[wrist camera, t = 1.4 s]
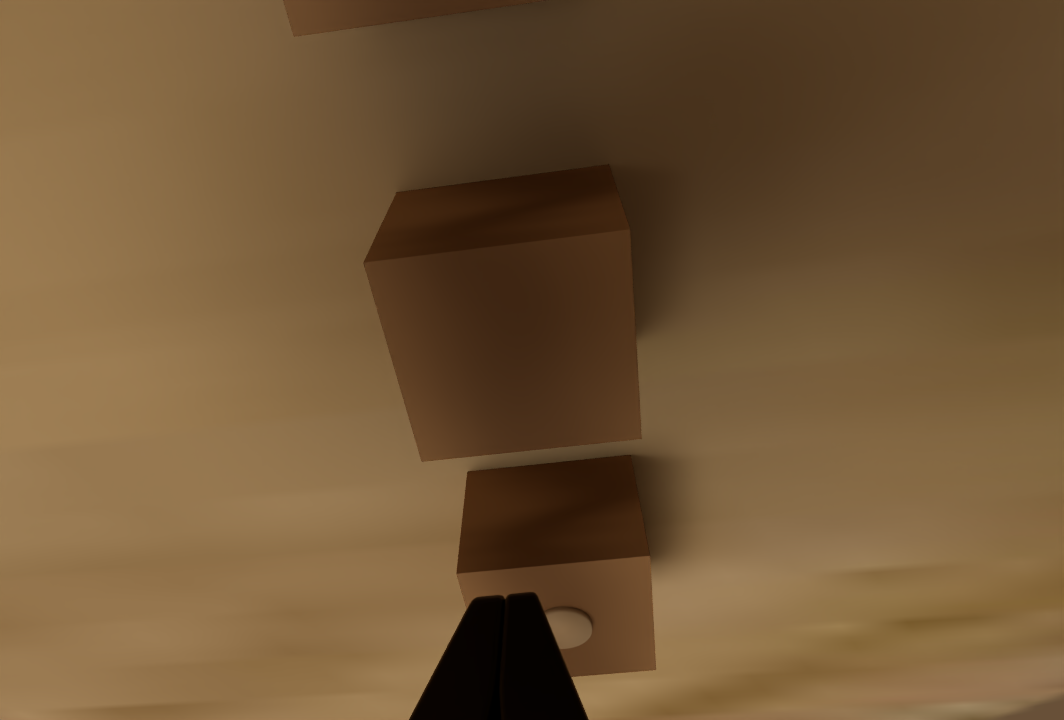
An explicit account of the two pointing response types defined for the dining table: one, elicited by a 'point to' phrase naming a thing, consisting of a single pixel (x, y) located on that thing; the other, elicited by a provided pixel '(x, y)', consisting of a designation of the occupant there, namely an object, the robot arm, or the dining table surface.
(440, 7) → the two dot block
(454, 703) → the robot arm
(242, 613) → the dining table surface
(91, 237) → the dining table surface
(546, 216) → the plain block
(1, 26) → the dining table surface
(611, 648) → the one dot block
